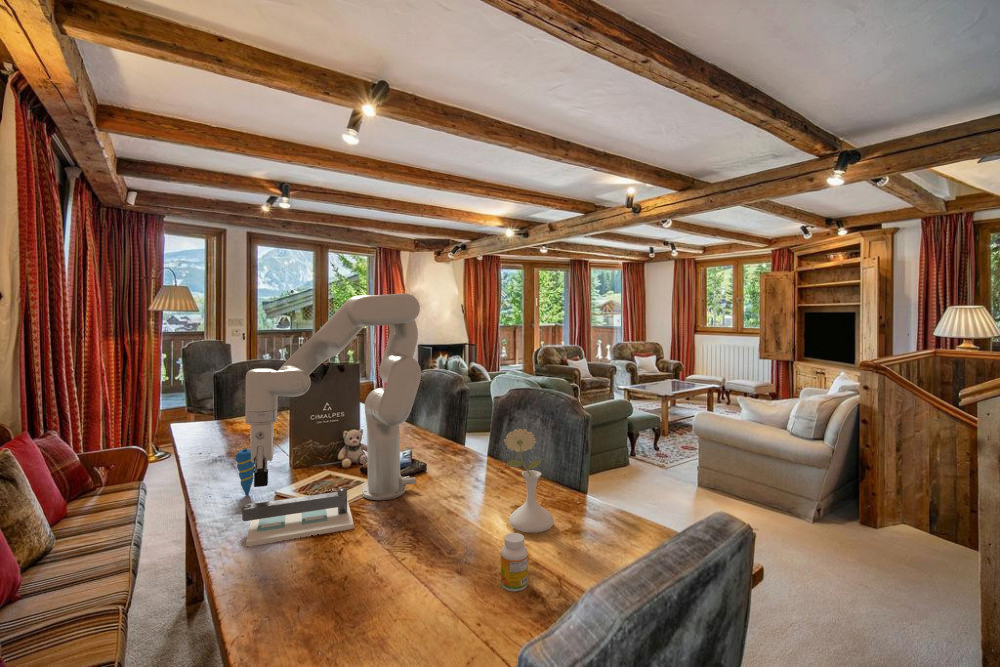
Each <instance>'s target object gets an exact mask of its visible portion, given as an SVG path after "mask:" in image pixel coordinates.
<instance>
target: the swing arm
mask: <svg viewBox="0 0 1000 667" xmlns="http://www.w3.org/2000/svg"><path fill="white" fill-rule="evenodd" d="M347 501H348V489H347V488H346V487H340V488H338V489H337V491H335V492H333V491H332V492H327V493H326V492H325V493H320V494H312V495H305V496H300V497H299V496H298V497H289V498H284V499H278V500H270V501H269V500H268V501H263V502H256V503H255V502H254V503H248V504H244V505H242V506H241V515H242V516H241V517H242V518H241V520H242V521H243V522H248V521H250V522H251V520H257V519H264V518H270V517H277V516H283V515H290V514H297V513H303V512H310V511H316V510H323V509H329V508H336V507H338V513H340V514H343V513H346V512H347Z"/></svg>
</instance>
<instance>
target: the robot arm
mask: <svg viewBox="0 0 1000 667" xmlns="http://www.w3.org/2000/svg"><path fill="white" fill-rule="evenodd" d="M420 312H421V304H420V302H419V300H418V299H417V298H416V297H415V296H414V295H412V294H410V293H406V292H405V293H403V292H402V293H393V294H392V293H391V294H379V295H378V294H373V295H372V294H371V295H368V294H367V295H366V294H365V295H355V296H352V297H349V299H347V300H346V301H345V302H343V304H342V305H341V306H340V307H339V308H338V309H337V310H336V312H335V313H333V315H331V317H330V318H329V319H328V320H327V321H326V322H325V323H324V324H323V325H322V326H321V327H320V328H319V329H318V330H317V331H316V332H315V333H314V334H313V335H312V336H310V338H308V340H306V341H305V342H304V343H303V344H302V345H300V347H299V348H297V349H296V350H295V351H294V352H293V353H292V355H291V356H290V357H289V358H288V359H287V360H286V361H285V362H284V363H283V364H282V366H280V368H278V369H277V370H275V369H273V368H254V369H253V368H252V369H250V370H248V371H247V372H246V374H245V409H244V410H245V417H244V418H245V419H244V421H245V424H247V425H250V429H249V430H250V434H249V436H250V438H249V439H250V440H249V441H250V446H249V447H250V450H251V462H253V463H254V461H255V465H254V466H255V470H254V473H253V477H254V478H253V487H254V488H260V487H267V486H268V485H269V484H268V483H269V468H268V461H269V463H270V462H272V461H273V458H274V454H275V453H274V452H275V451H274V448H275V446H274V442H275V441H274V438H275V437H274V433H275V432H274V428H275V427H274V423H277V422H278V410H279V409H278V408H279V407H278V404H279V403H278V402H279V401H278V400H279V397H291V398H295V397H300V396H302V395H305V394H306V393H307V392H308V391H309V390H310V387H311V385H312V384H311V383H312V382H311V381H312V380H311V376H310V375H311V374H312V373H313V372H314V371H315V370H316V369H317V368H318V367H319V366H320V365H321V364H322V363H324V362H325V361H327V360H329V359H331V358H333V357H336V356H337V355H338V354H340V353H341V352H343V351H344V350H345V349H346V347H347V346H348V345H349V344H350V343H351V342H352V341H353V340H354V338H356V336H357V335H358V334H359V333H360V332H361V331H362V329H364V328H365V327H375V326H378V327H379V326H387V325H388V329H389V336H388V340H387V344H386V347H385V350H384V353H383V356H382V359H381V362H380V363H379V367H378V368H379V369H378V375H379V377H380V379H381V381H383V382H384V383H385V385H384V387H378V388H375V389H373V390H372V391H370V392H369V393H368V394H367V396H366V399H365V402H364V414H365V416H364V417H365V422H366V437H367V439H366V444H367V445H366V446H367V447H366V448H367V449H366V450H367V451H366V452H367V453H366V454H367V457H366V458H367V486H365V487H363V489H362V493H363V494H362V496H363V497H364V498H365V499H366V500H367V499H368V500H371V501H372V500H373V501H387V500H388V501H389V500H393V499H396V498H399V497H401V496H402V495H404V494H405V492H406V485H415V484H417V478H416V477H415V476H414V477H411V476H410V475H408V476H402V475H401V431H400V425H402V424H403V423H405V422H406V420H407V419H408V417H409V416H410V413H411V412H412V408H413V406H414V403H415V399H416V396H417V393H418V390H419V386H420V382H421V379H422V369H421V366H420V364H419V362H418V360H416V359H415V358H414V356H415V352H416V348H417V343H418V340H419V339H418V338H419V331H418V330H419V329H418V326H417V322H416V319H417V317H418V316H419V315H420Z"/></svg>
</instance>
